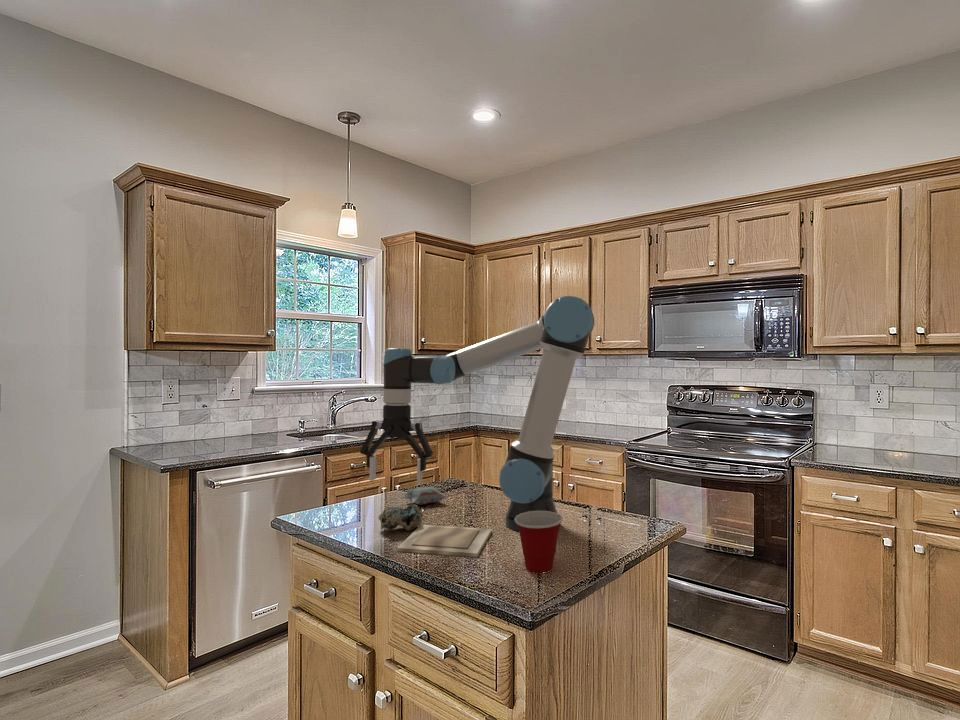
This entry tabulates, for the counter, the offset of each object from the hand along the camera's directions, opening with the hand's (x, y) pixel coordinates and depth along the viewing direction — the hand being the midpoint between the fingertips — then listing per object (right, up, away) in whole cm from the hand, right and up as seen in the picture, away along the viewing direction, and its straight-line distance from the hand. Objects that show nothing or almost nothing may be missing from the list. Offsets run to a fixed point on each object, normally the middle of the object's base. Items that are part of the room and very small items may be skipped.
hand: (395, 481), depth 159 cm
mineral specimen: (0, -14, 0) cm, 14 cm away
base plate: (+15, -14, -10) cm, 22 cm away
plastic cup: (+36, -14, -30) cm, 49 cm away
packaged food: (+3, -15, +25) cm, 29 cm away
